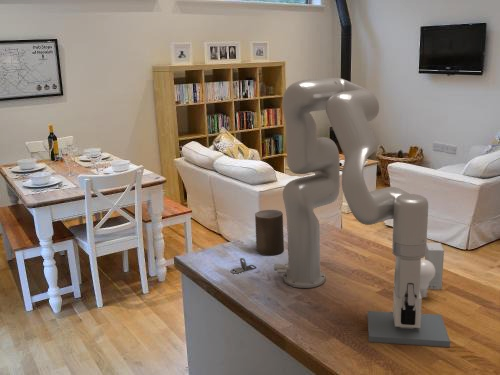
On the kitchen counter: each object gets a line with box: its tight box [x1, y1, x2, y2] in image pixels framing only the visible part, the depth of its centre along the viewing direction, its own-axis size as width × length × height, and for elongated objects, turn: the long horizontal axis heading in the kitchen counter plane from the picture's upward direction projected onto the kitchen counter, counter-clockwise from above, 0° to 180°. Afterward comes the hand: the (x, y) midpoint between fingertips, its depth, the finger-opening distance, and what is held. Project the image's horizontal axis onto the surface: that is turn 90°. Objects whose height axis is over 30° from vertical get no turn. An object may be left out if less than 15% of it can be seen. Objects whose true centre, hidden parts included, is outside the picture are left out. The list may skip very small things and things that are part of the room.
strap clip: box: [230, 257, 257, 275], centre depth 159 cm, size 8×3×4 cm, turn 122°
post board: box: [366, 310, 451, 348], centre depth 120 cm, size 18×12×8 cm, turn 79°
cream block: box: [392, 285, 423, 328], centre depth 119 cm, size 6×6×8 cm
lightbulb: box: [420, 258, 436, 299], centre depth 135 cm, size 6×6×11 cm
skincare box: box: [424, 242, 445, 290], centre depth 142 cm, size 6×4×12 cm
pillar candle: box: [254, 209, 285, 257], centre depth 172 cm, size 10×10×15 cm
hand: (406, 316), depth 120 cm, fingers closed on cream block, 5 cm apart
